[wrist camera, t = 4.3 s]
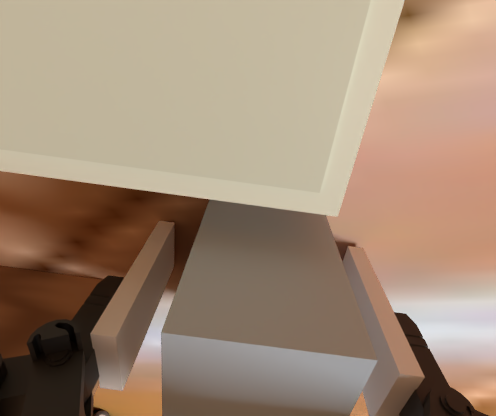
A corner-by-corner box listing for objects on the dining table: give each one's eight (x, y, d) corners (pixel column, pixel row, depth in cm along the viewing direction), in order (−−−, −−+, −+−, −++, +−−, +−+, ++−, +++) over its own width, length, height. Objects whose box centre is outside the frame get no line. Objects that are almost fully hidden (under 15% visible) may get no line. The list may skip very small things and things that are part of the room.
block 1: (24, 337, 20) (-65, 443, 14) (1, 264, 17) (-121, 364, 12) (116, 349, 20) (61, 459, 14) (108, 279, 17) (37, 384, 12)
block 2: (204, 298, 17) (163, 473, 10) (213, 187, 14) (161, 333, 7) (291, 310, 17) (310, 491, 10) (321, 202, 14) (377, 360, 7)
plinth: (-4, 127, 13) (-109, 158, 9) (-102, -239, 8) (-391, -465, 5) (318, 171, 13) (338, 219, 10) (401, -160, 8) (505, -318, 5)
